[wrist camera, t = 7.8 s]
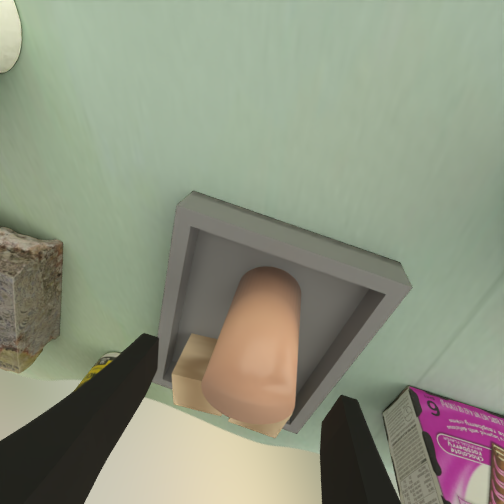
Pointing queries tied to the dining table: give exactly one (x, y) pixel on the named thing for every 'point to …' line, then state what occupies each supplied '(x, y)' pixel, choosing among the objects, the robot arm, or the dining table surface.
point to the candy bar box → (445, 450)
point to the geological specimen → (28, 297)
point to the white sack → (9, 35)
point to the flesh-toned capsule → (257, 350)
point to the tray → (293, 262)
